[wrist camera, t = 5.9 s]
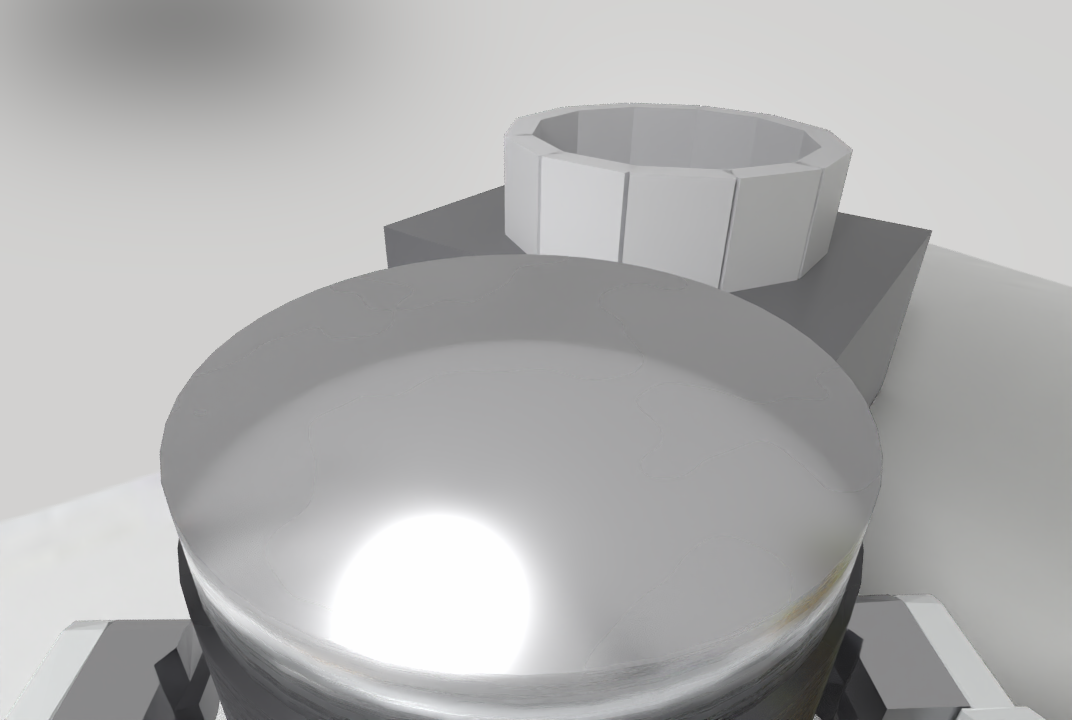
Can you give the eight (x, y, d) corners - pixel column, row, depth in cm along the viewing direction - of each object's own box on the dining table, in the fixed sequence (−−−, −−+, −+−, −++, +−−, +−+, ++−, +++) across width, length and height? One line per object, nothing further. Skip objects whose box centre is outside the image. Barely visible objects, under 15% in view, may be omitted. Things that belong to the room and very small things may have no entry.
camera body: (400, 385, 25) (374, 129, 20) (570, 288, 32) (579, 86, 28) (777, 565, 18) (869, 231, 13) (881, 385, 25) (963, 136, 21)
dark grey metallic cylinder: (239, 924, 11) (0, 406, 6) (496, 648, 15) (486, 219, 10) (569, 1348, 8) (677, 1005, 3) (773, 840, 12) (961, 349, 7)
